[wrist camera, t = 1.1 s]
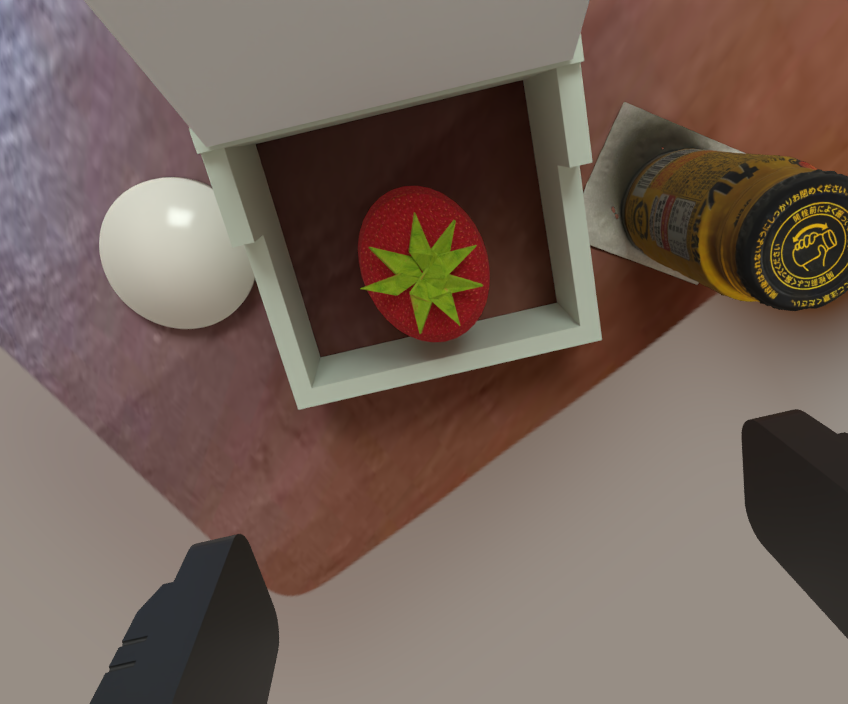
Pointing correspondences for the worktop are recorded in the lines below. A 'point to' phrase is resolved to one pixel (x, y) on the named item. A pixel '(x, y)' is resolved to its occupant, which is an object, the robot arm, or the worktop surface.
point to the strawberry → (424, 263)
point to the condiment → (719, 214)
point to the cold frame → (360, 98)
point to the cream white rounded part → (173, 254)
